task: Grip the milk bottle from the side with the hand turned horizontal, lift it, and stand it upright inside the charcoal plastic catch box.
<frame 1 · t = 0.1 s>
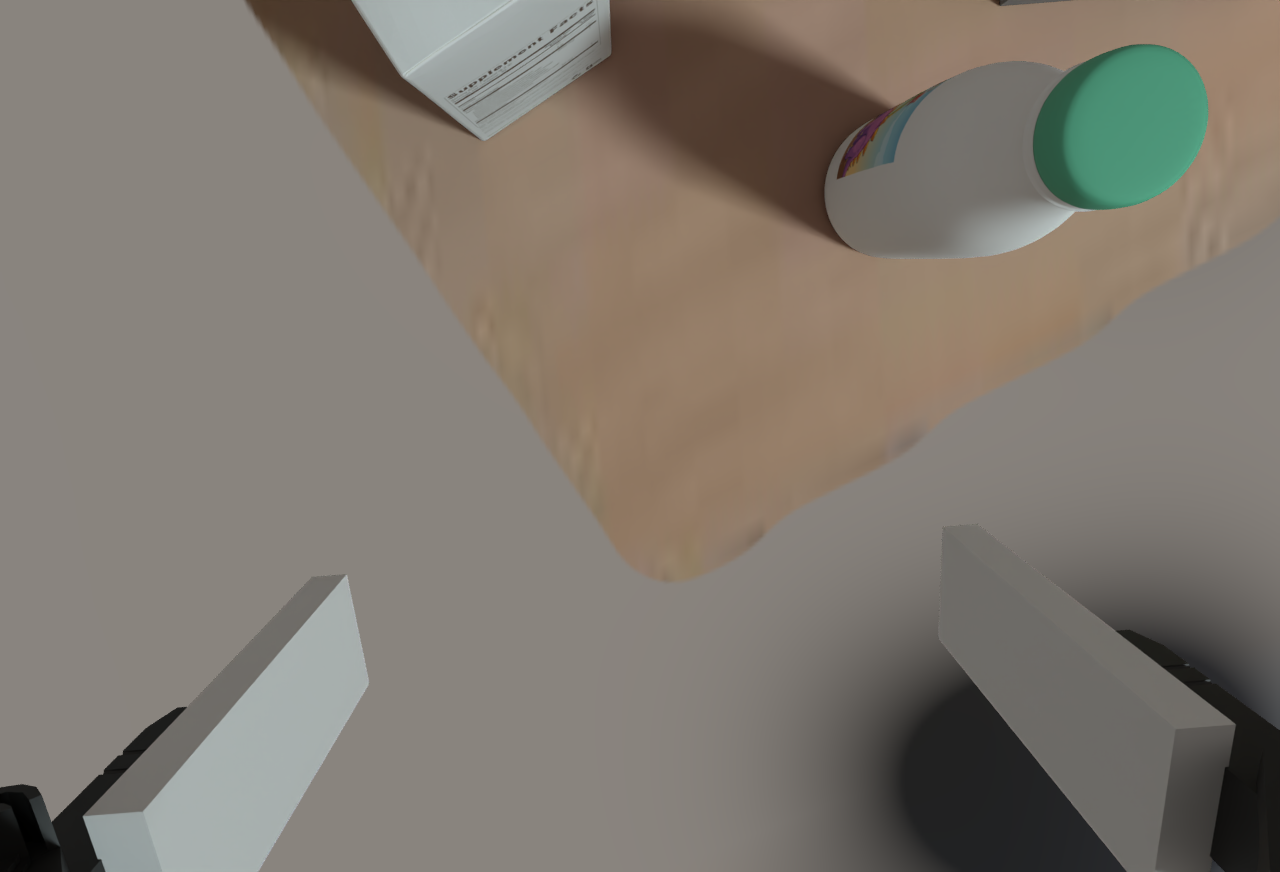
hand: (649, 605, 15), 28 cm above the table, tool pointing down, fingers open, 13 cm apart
milk bottle: (886, 189, 40), on the table
supplement box: (502, 25, 37), on the table
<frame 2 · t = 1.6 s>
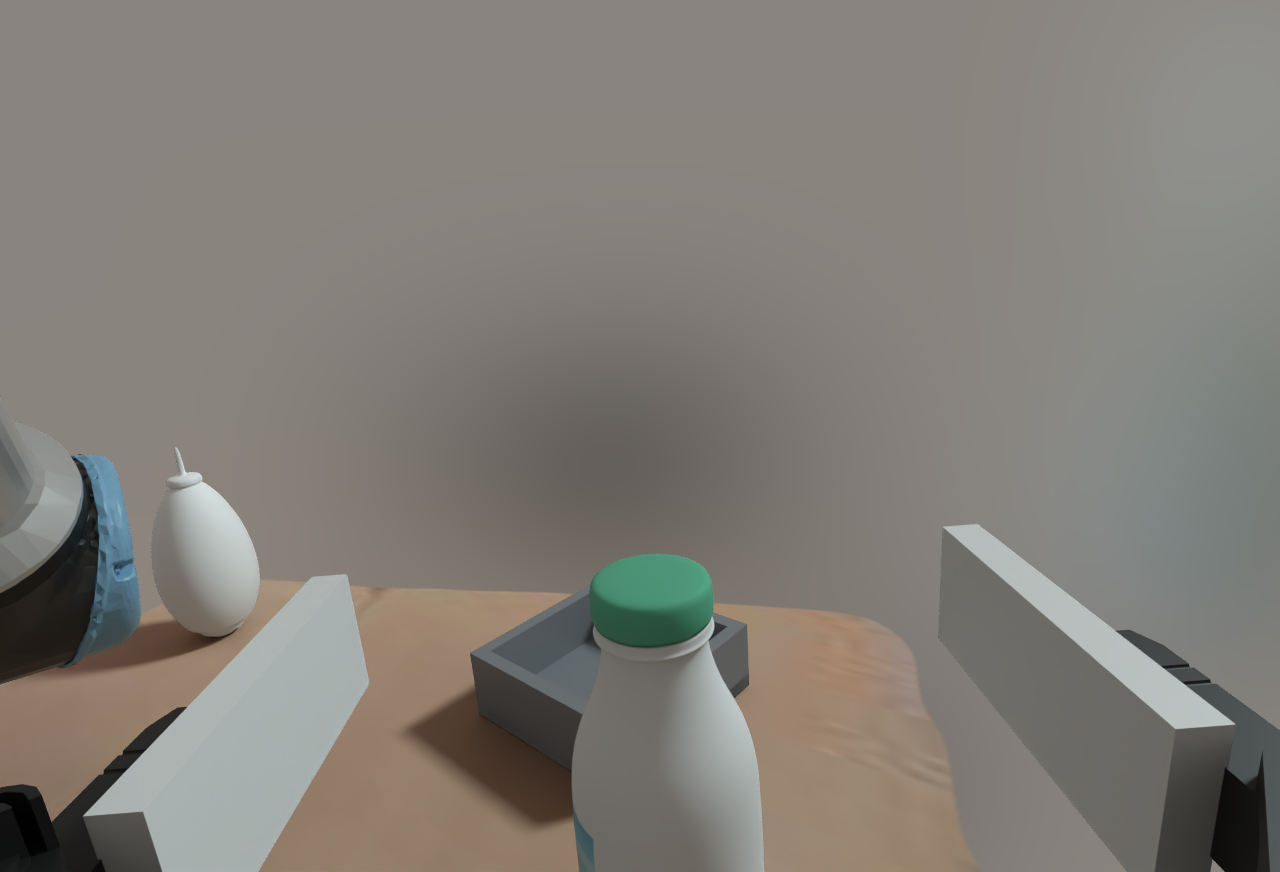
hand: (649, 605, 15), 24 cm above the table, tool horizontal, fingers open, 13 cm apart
white squeeze bottle: (224, 633, 64), on the table
catch box: (615, 698, 51), on the table
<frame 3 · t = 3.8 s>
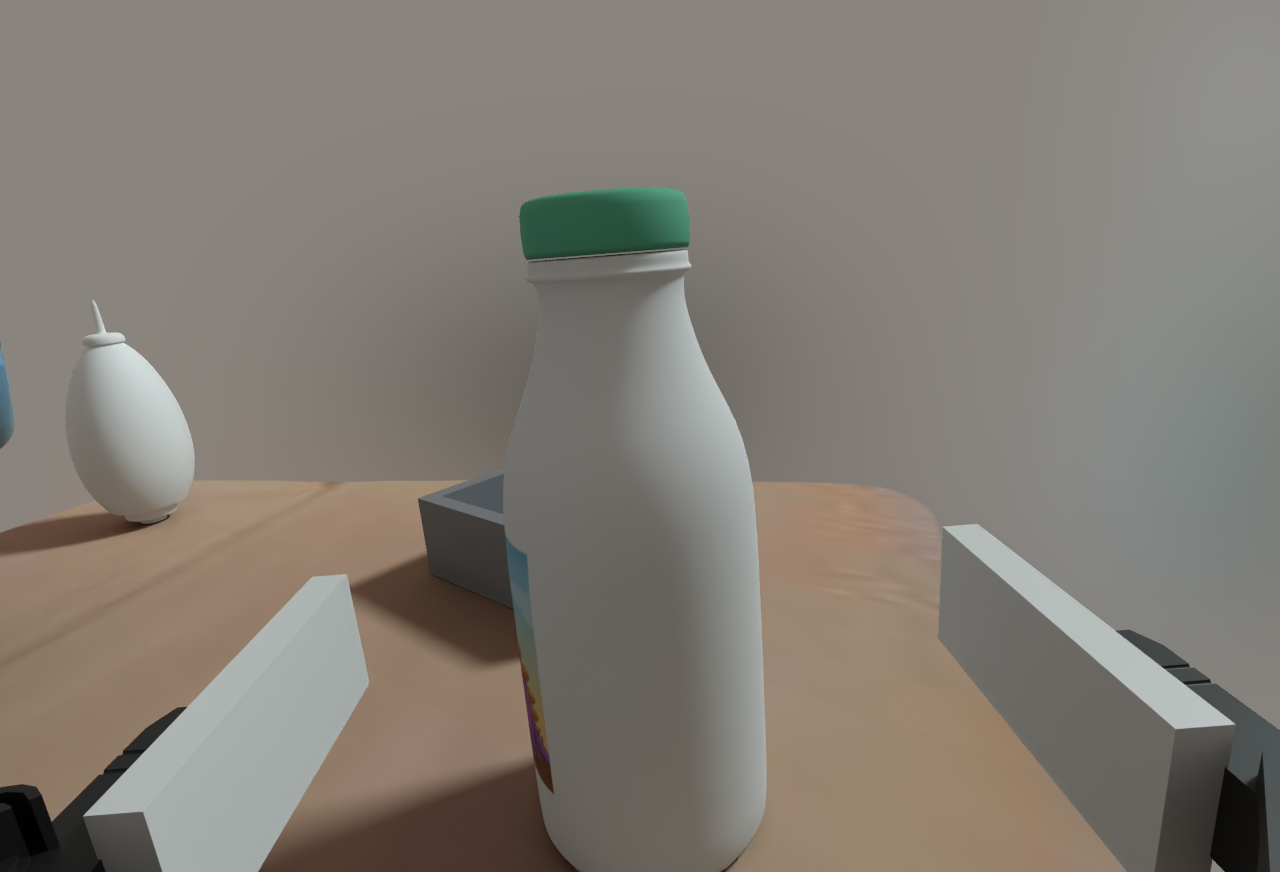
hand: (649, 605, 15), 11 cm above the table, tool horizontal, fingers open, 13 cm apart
milk bottle: (655, 806, 24), on the table
white squeeze bottle: (154, 521, 57), on the table
catch box: (589, 557, 44), on the table
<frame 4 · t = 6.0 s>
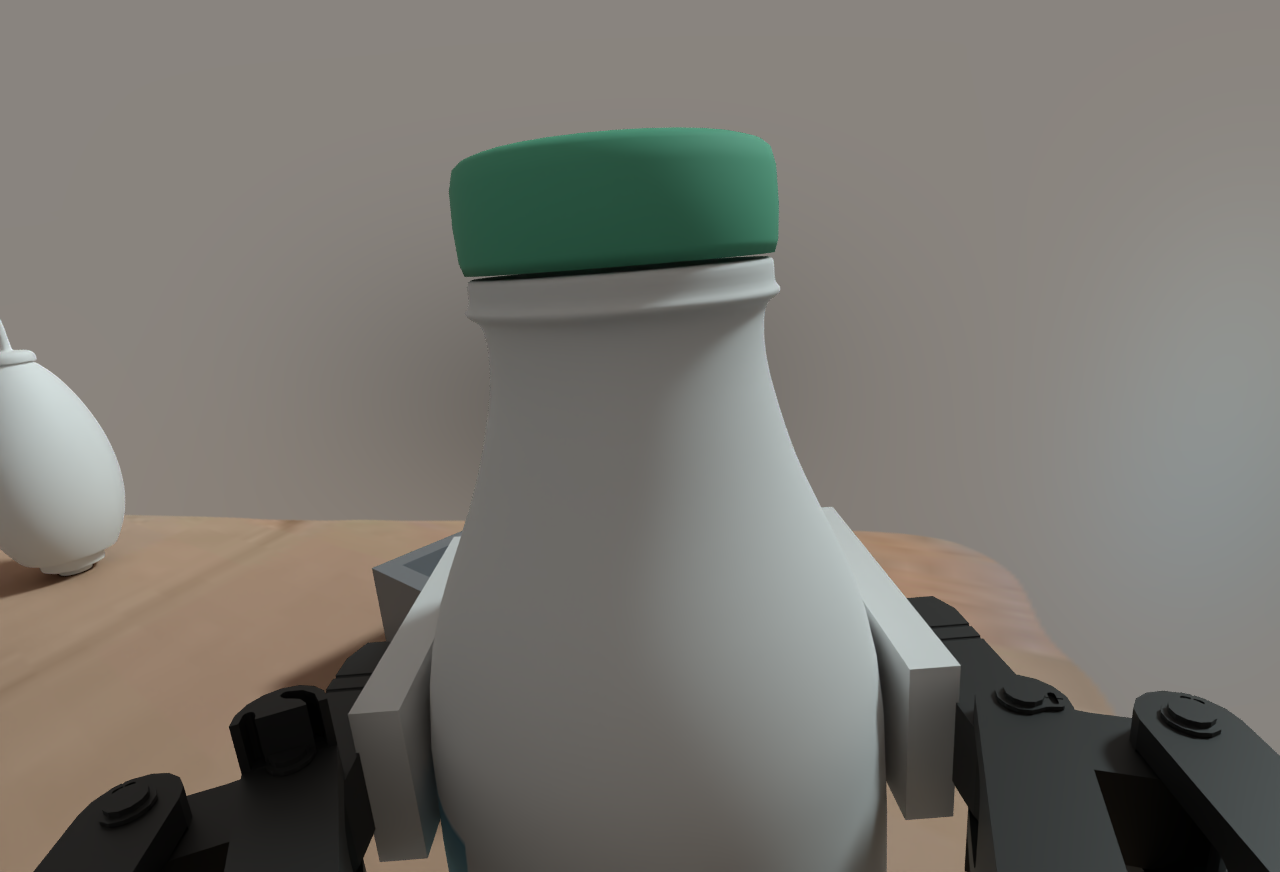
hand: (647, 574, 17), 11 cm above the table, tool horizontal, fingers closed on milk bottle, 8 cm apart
white squeeze bottle: (77, 572, 48), on the table
catch box: (590, 638, 35), on the table
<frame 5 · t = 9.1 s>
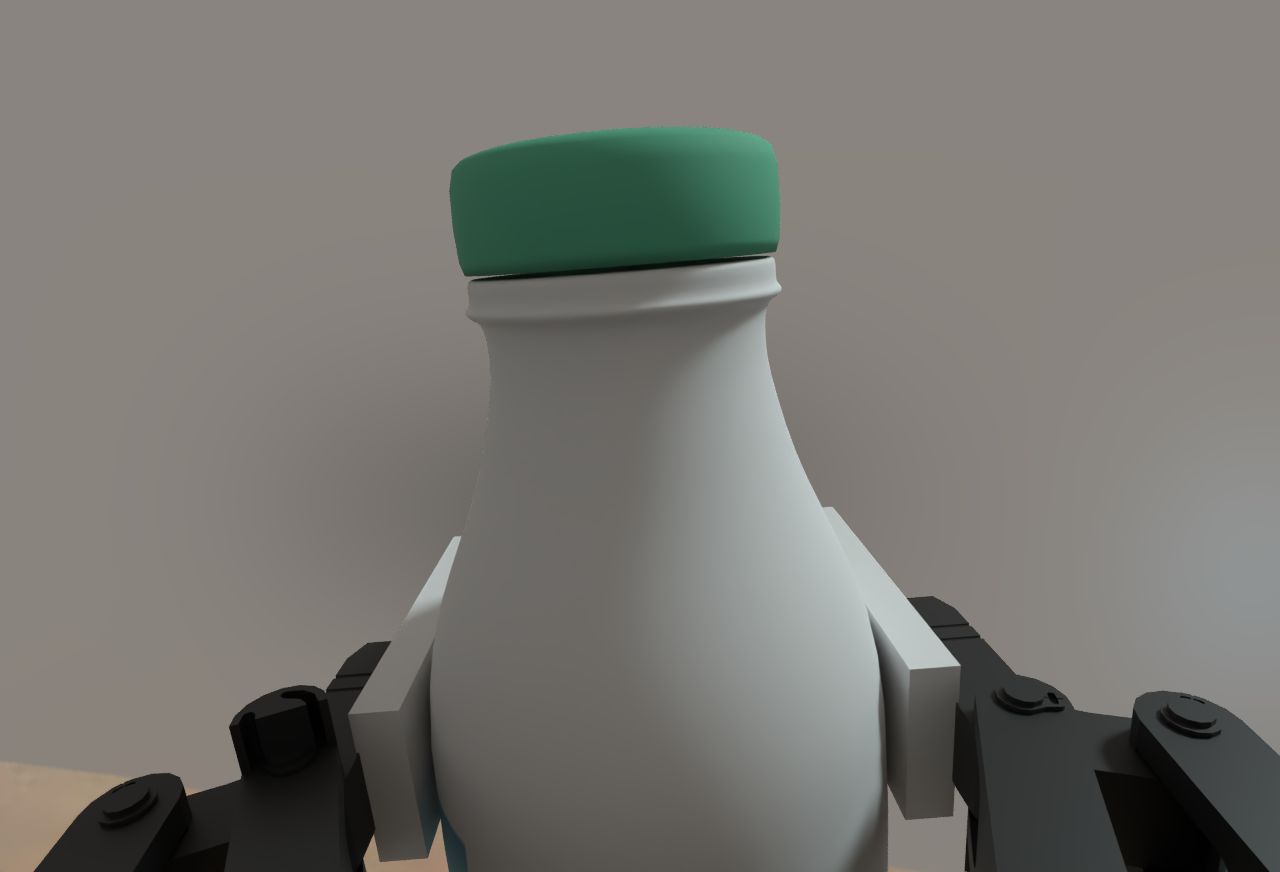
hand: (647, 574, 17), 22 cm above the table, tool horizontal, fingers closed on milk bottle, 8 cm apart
when the fingers open (13 cm above the table, at t = 12.0 s): milk bottle drops 1 cm, resting on catch box.
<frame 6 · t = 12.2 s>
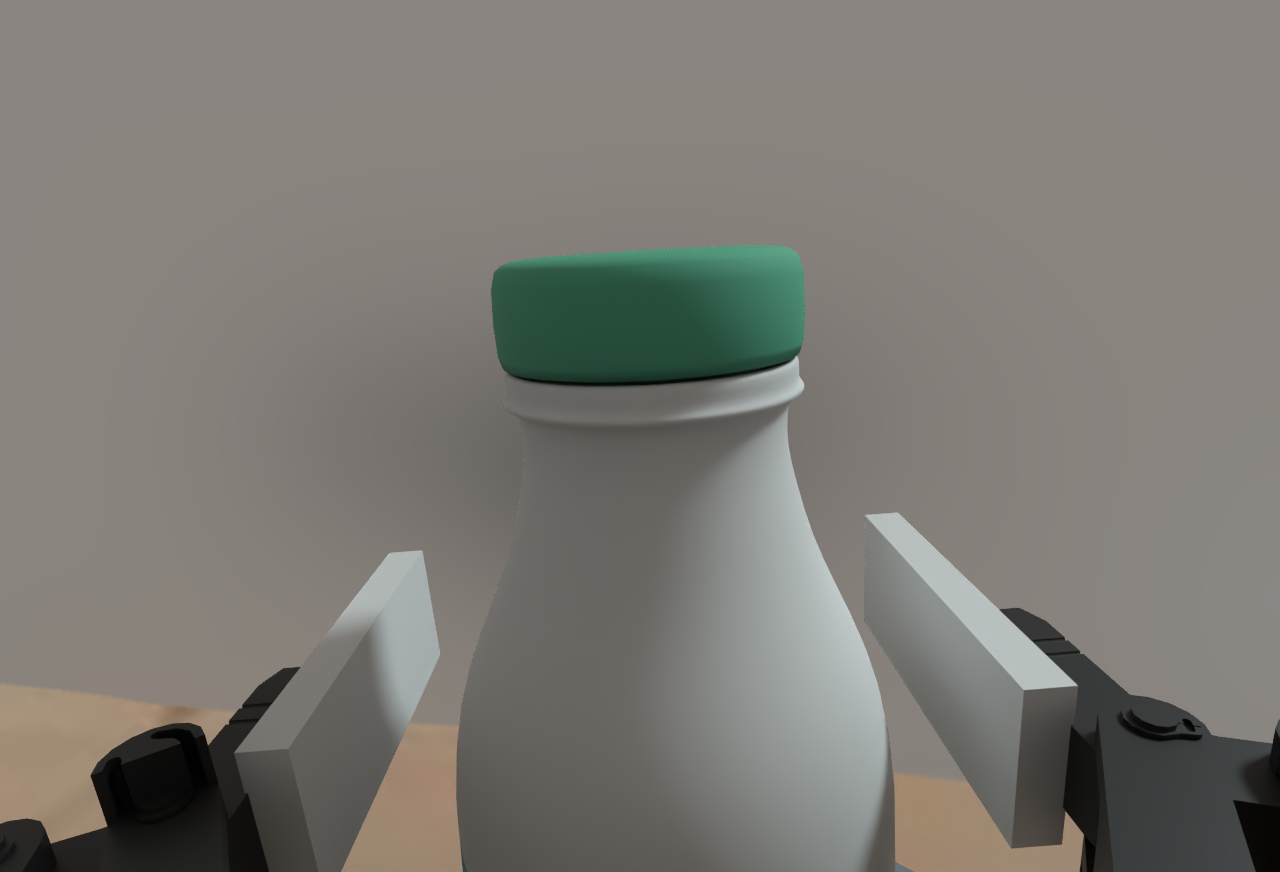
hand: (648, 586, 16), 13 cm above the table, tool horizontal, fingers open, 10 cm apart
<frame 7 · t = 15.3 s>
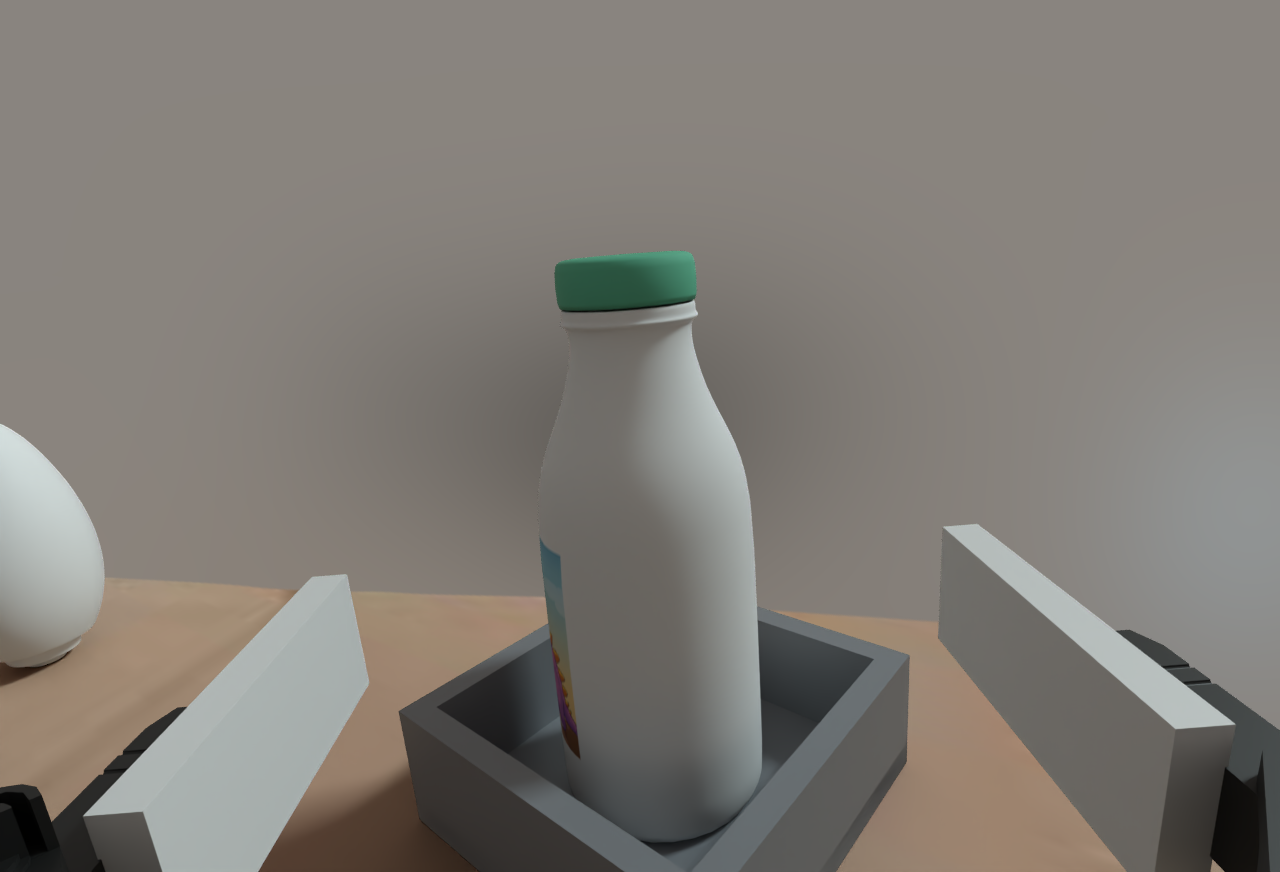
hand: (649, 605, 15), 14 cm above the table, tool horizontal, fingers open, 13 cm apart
milk bottle: (665, 774, 28), point 1 cm above the table, touching catch box
white squeeze bottle: (48, 661, 42), on the table
catch box: (667, 790, 28), on the table
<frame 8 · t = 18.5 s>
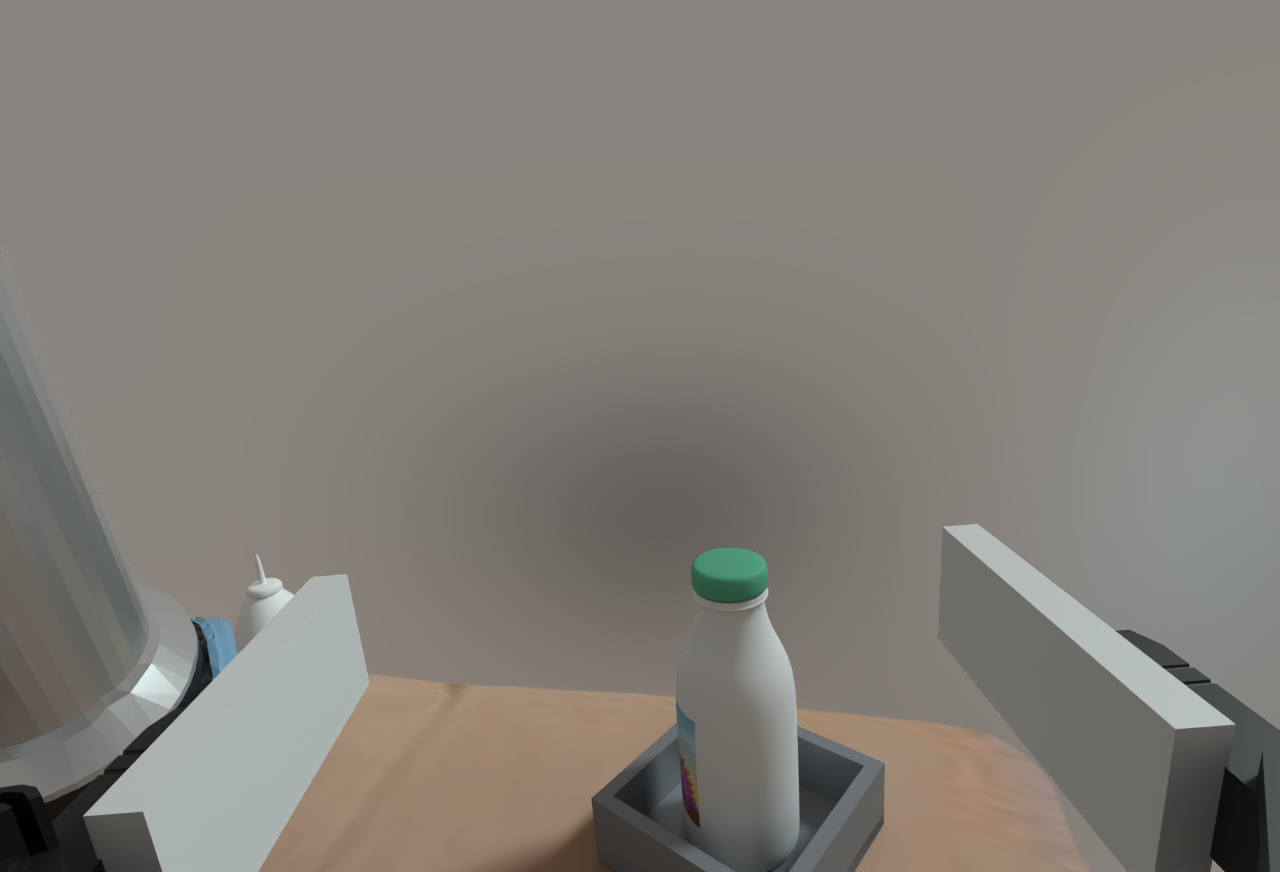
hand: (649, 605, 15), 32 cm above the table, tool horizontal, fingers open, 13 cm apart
milk bottle: (741, 832, 47), point 1 cm above the table, touching catch box
white squeeze bottle: (301, 742, 61), on the table
catch box: (742, 841, 47), on the table
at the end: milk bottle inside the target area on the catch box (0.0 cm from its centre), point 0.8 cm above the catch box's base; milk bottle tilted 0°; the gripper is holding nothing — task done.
